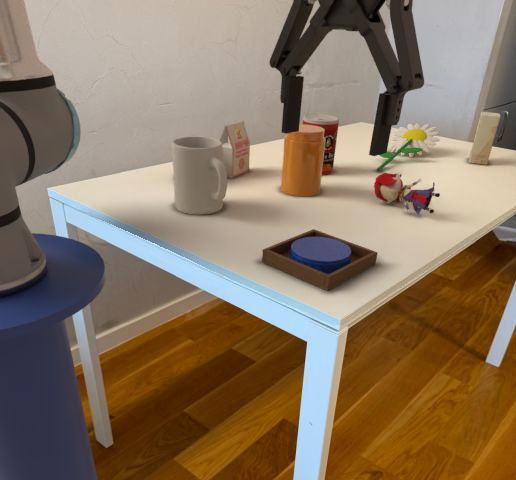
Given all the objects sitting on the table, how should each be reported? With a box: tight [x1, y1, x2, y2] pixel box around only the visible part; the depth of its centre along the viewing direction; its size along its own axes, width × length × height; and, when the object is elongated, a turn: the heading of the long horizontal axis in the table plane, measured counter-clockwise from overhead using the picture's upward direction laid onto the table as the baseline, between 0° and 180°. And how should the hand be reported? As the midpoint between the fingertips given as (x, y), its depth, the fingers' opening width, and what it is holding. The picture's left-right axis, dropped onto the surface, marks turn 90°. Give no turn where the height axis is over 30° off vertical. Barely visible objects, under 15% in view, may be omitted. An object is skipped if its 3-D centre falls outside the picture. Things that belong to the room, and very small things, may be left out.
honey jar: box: [280, 124, 326, 197], centre depth 97 cm, size 8×8×12 cm
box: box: [468, 111, 502, 166], centre depth 122 cm, size 5×4×11 cm
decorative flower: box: [376, 122, 441, 172], centre depth 124 cm, size 13×5×30 cm
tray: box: [261, 228, 379, 292], centre depth 72 cm, size 12×12×2 cm
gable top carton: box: [219, 120, 251, 179], centre depth 106 cm, size 4×7×10 cm, turn 149°
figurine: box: [373, 172, 441, 216], centre depth 93 cm, size 6×8×15 cm
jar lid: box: [290, 237, 351, 274], centre depth 72 cm, size 9×9×2 cm
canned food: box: [301, 113, 340, 176], centre depth 110 cm, size 8×8×11 cm
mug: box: [171, 136, 228, 216], centre depth 86 cm, size 12×8×11 cm
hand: (331, 142), depth 63 cm, fingers open, 13 cm apart
